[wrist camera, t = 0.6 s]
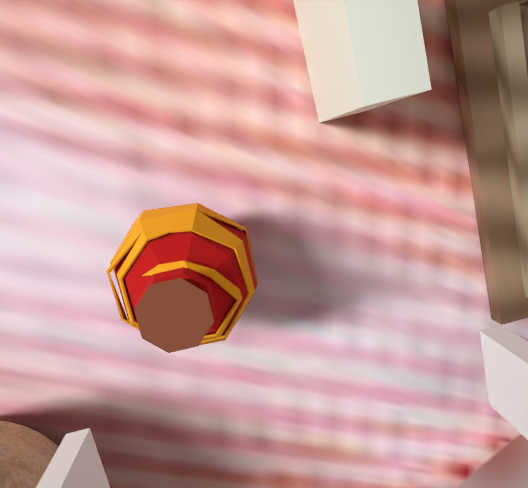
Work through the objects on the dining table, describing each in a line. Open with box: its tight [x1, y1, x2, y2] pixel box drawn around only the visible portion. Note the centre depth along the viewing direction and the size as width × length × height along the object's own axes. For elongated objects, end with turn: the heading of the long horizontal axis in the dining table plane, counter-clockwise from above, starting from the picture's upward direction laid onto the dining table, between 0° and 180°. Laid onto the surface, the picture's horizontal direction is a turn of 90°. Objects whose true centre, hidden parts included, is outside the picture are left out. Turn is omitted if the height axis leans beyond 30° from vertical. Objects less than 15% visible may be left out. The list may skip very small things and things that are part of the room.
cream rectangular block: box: [293, 0, 431, 123], centre depth 30 cm, size 10×4×12 cm, turn 14°
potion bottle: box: [106, 203, 257, 353], centre depth 31 cm, size 10×10×15 cm
